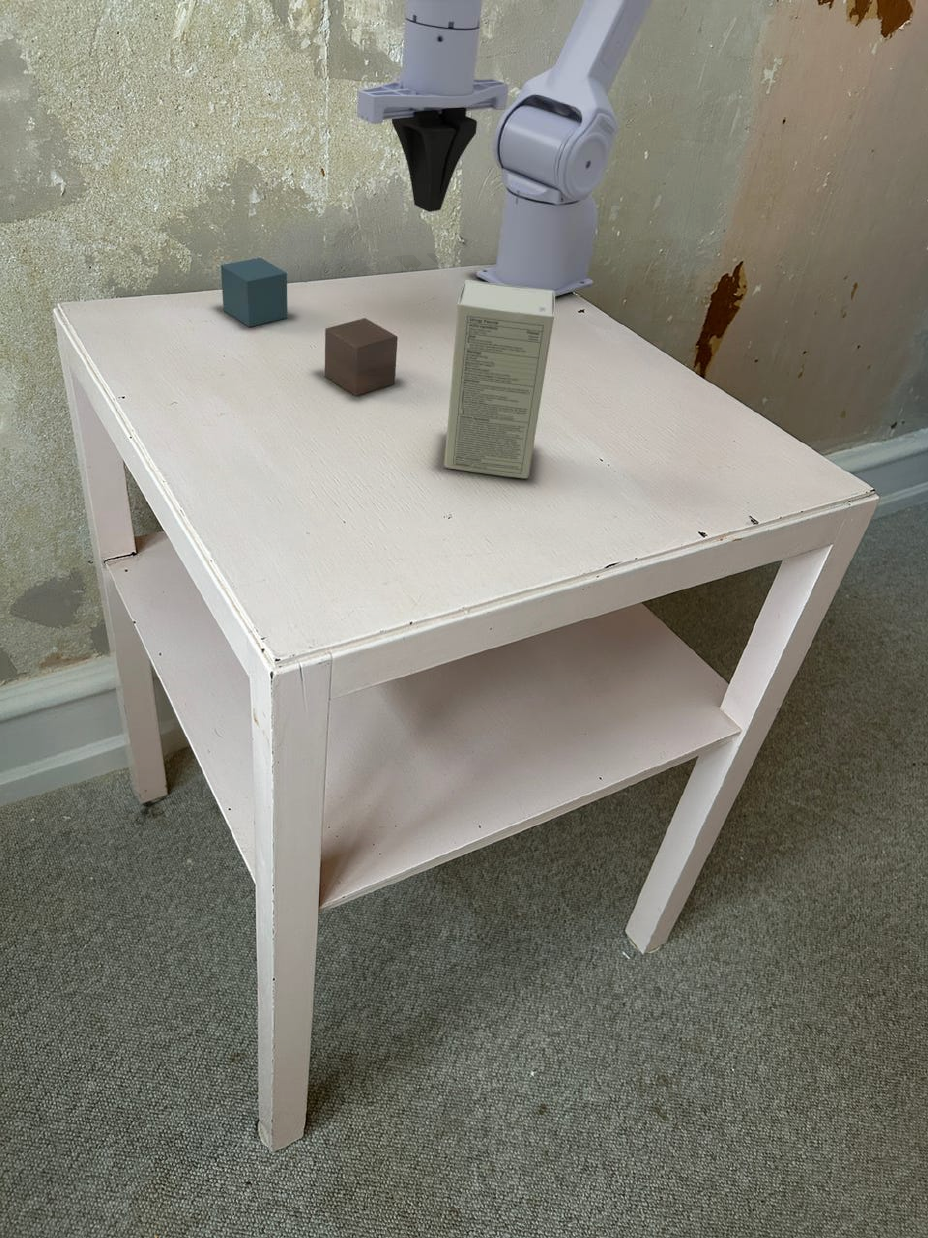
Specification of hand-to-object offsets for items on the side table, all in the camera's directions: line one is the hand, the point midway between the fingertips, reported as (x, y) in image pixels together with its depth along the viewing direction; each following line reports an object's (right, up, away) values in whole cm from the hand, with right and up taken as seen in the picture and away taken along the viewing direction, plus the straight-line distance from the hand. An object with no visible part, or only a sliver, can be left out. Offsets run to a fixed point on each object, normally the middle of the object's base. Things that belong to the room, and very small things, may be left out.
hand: (427, 207), depth 81 cm
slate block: (-15, -8, +2) cm, 18 cm away
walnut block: (-5, -16, -5) cm, 18 cm away
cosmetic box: (+5, -24, -12) cm, 27 cm away
